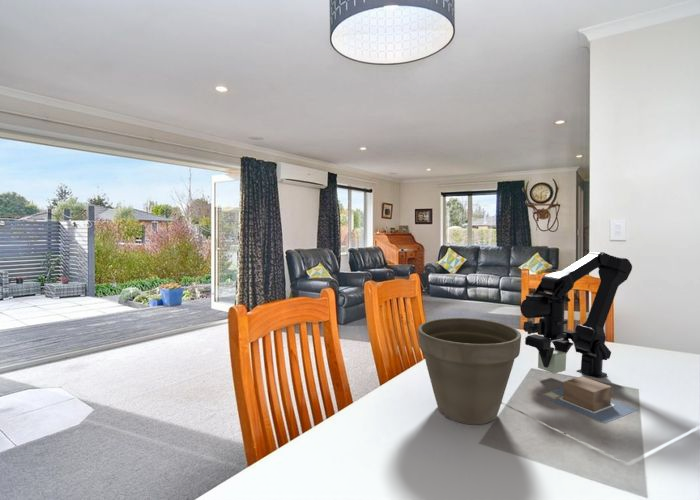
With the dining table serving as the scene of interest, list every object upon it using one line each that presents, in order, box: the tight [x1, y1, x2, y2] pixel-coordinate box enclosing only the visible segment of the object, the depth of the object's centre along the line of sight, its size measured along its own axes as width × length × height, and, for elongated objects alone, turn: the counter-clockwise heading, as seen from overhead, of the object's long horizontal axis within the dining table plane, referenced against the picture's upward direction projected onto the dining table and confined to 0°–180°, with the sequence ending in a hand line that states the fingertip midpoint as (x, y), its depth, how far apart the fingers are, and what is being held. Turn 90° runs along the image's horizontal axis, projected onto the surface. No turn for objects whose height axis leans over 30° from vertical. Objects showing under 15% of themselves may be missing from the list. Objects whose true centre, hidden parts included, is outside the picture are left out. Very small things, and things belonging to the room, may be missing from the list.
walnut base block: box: [563, 376, 612, 411], centre depth 106 cm, size 8×8×5 cm
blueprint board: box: [538, 386, 639, 424], centre depth 107 cm, size 15×18×1 cm
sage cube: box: [537, 348, 567, 374], centre depth 123 cm, size 6×6×6 cm
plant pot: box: [417, 317, 522, 425], centre depth 101 cm, size 25×25×22 cm
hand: (551, 365), depth 123 cm, fingers closed on sage cube, 5 cm apart
